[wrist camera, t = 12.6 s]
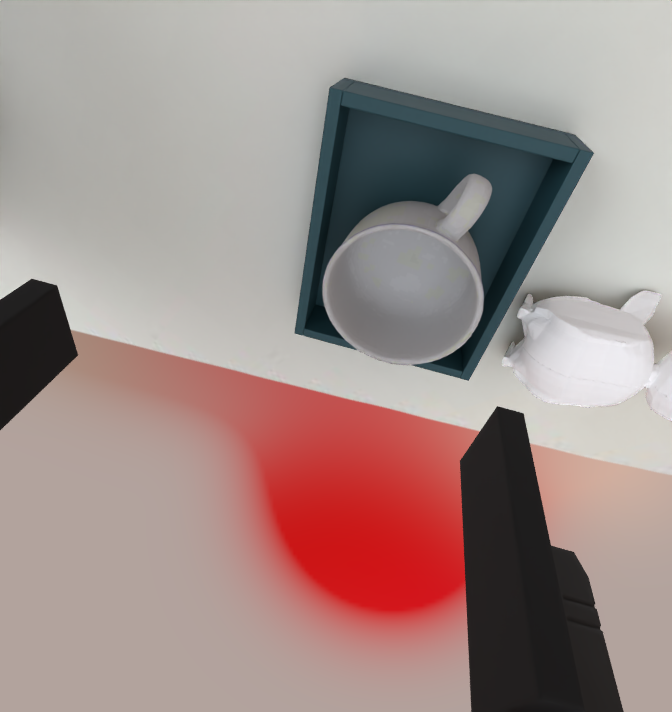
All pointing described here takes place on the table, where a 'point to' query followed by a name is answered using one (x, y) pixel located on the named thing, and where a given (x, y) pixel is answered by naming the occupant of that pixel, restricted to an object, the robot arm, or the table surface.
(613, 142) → the table surface
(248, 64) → the table surface
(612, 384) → the white figurine
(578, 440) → the table surface
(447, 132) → the tray
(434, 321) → the teacup
